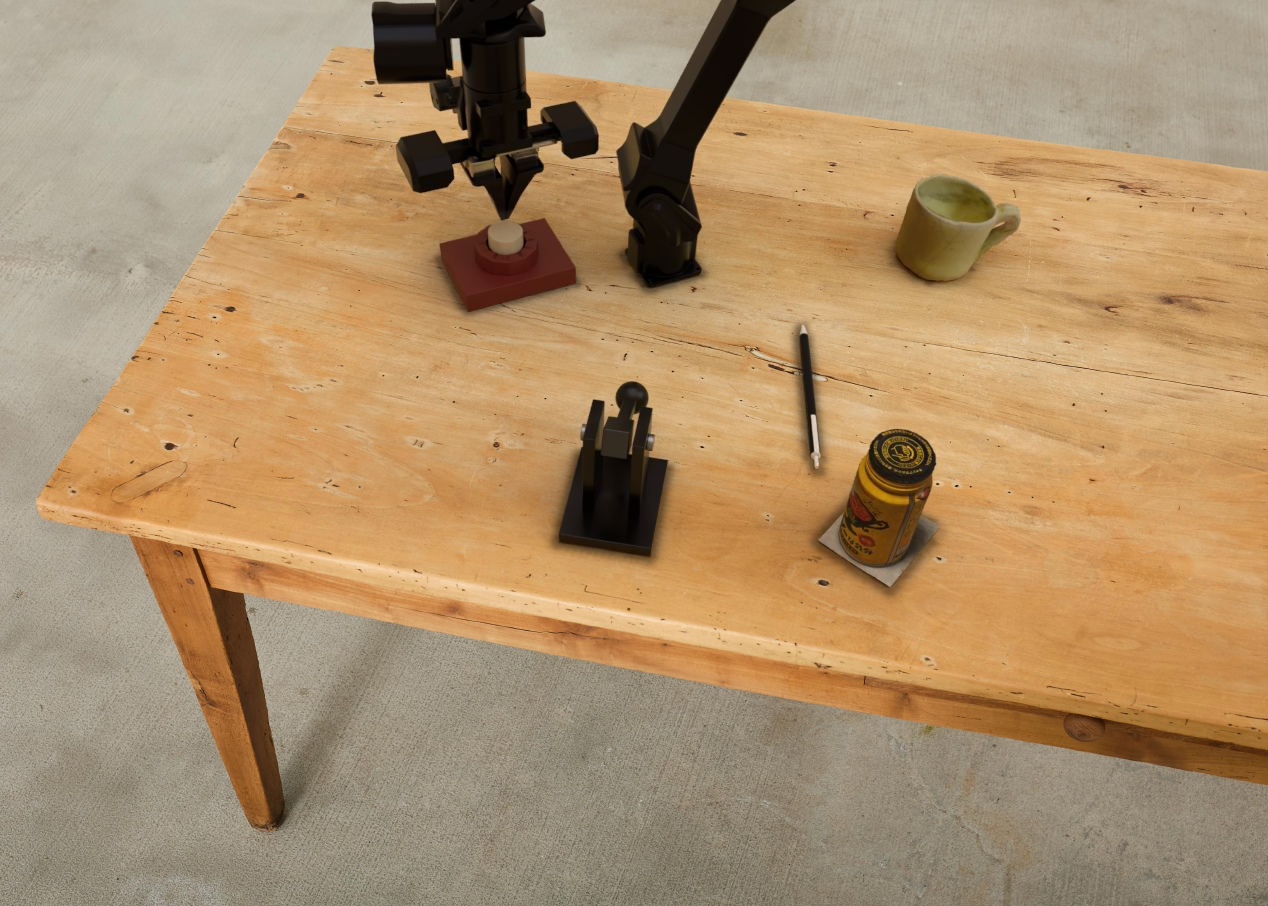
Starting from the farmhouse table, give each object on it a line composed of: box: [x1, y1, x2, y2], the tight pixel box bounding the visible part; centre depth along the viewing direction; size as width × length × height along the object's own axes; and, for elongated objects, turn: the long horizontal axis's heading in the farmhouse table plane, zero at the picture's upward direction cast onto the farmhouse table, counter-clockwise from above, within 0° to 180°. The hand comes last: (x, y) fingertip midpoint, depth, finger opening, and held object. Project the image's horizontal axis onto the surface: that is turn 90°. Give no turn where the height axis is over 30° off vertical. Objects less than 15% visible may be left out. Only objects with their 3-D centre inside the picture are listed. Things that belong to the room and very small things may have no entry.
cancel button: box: [488, 220, 523, 255], centre depth 109 cm, size 4×4×2 cm
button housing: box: [438, 217, 577, 313], centre depth 111 cm, size 12×9×4 cm
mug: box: [894, 173, 1022, 282], centre depth 114 cm, size 12×10×10 cm
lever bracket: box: [558, 398, 669, 557], centre depth 89 cm, size 10×8×11 cm
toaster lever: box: [601, 380, 650, 459], centre depth 91 cm, size 12×3×3 cm, turn 171°
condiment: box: [817, 428, 941, 588], centre depth 88 cm, size 7×8×12 cm
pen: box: [799, 324, 822, 470], centre depth 103 cm, size 1×19×1 cm, turn 177°
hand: (503, 217), depth 107 cm, fingers closed
